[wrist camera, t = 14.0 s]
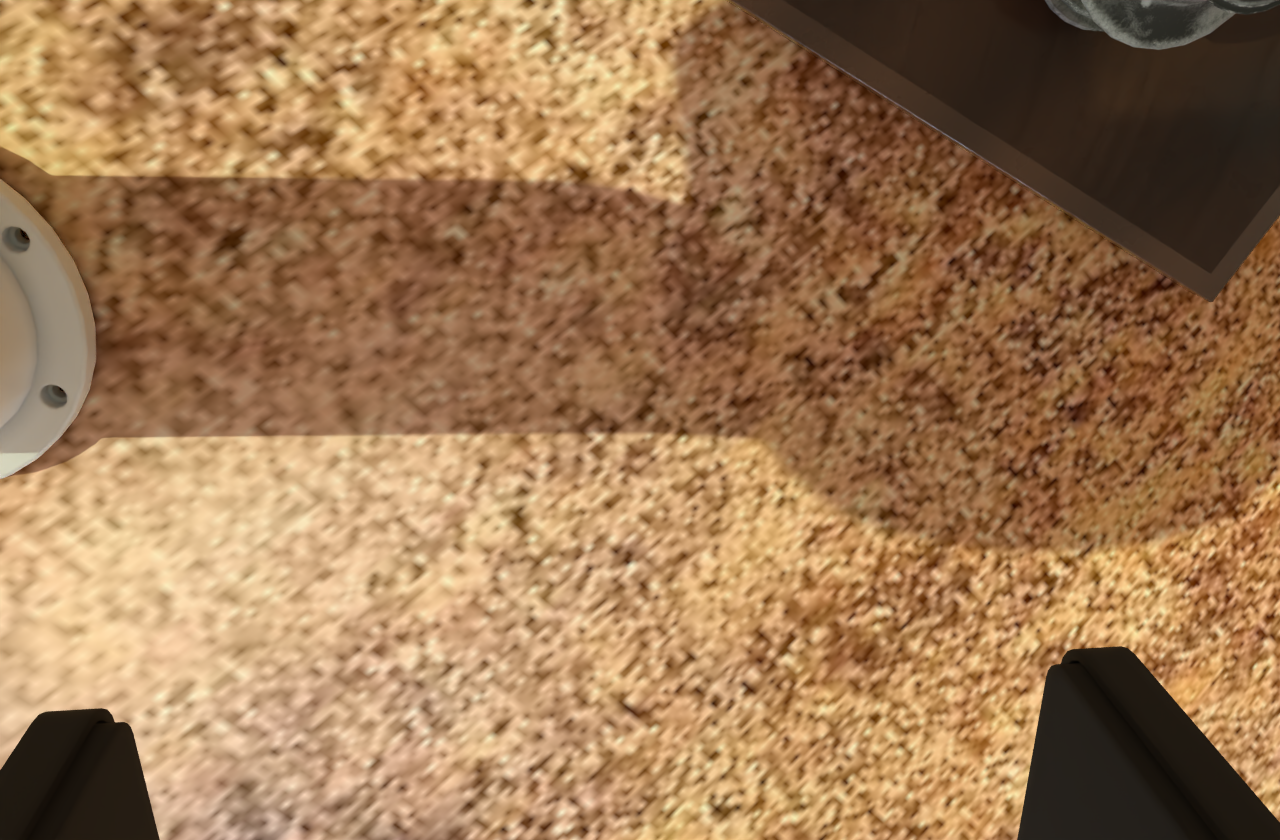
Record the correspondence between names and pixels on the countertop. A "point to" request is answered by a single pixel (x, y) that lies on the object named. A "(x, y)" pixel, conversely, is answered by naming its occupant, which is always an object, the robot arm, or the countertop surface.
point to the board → (1081, 114)
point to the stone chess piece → (1154, 18)
